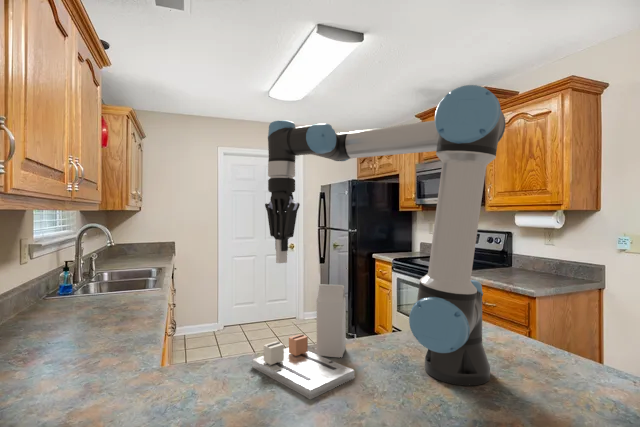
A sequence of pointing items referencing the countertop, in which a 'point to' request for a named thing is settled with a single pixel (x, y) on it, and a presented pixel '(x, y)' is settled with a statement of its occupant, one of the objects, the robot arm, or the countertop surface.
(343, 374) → the console
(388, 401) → the countertop surface
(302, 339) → the fader
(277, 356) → the block
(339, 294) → the milk carton
